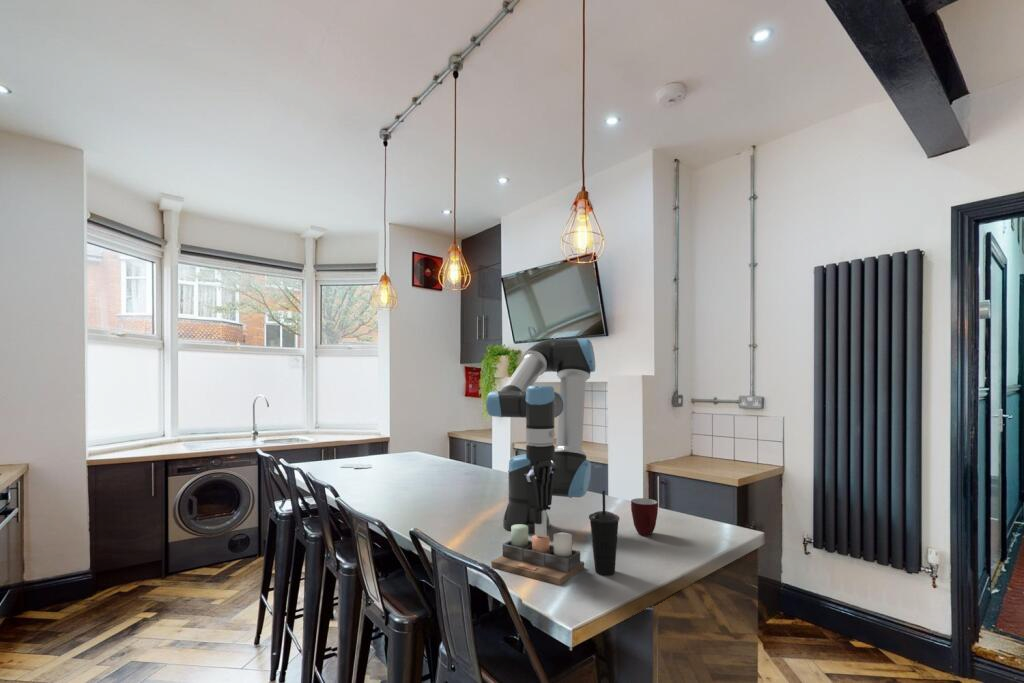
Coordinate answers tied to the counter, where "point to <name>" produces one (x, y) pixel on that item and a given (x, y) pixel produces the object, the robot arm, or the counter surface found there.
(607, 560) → the drinking cup
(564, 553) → the button ivory
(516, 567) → the wooden compartment tray
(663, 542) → the counter surface
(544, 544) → the button terracotta
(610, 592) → the counter surface
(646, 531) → the mug
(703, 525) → the counter surface
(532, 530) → the robot arm
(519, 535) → the pale green rounded cylinder
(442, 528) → the counter surface
